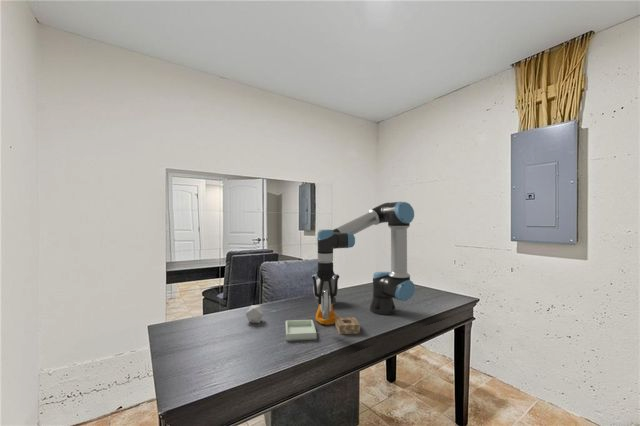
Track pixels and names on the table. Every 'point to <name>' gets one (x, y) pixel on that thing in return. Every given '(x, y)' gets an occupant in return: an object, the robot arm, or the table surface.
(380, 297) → the robot arm
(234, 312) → the table surface
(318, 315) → the bracket
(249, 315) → the die
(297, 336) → the tray
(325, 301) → the cylinder
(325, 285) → the alarm clock
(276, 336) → the table surface
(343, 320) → the bore block
